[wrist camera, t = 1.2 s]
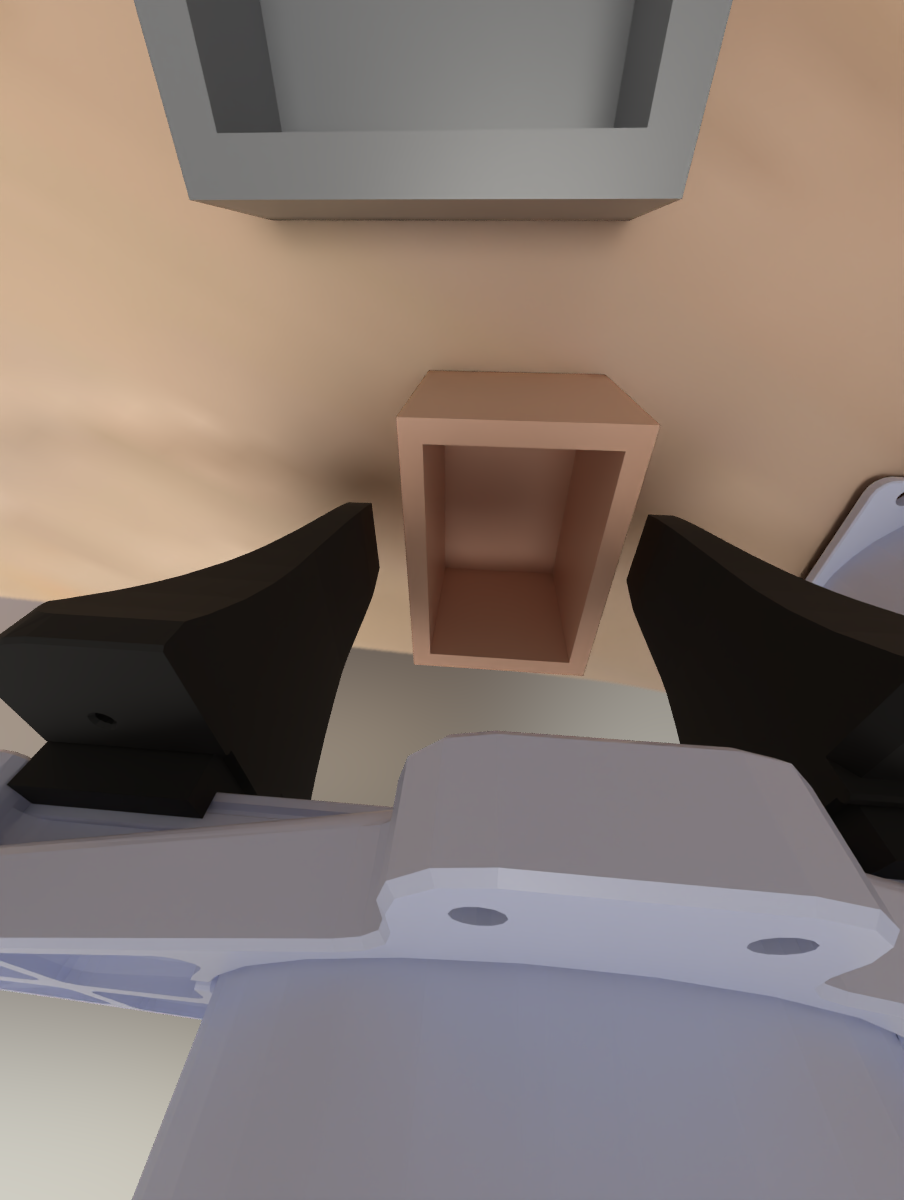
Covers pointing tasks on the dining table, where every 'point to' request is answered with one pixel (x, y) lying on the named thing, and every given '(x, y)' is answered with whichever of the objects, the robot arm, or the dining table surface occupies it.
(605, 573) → the small crate
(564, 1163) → the robot arm
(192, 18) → the large crate
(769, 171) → the dining table surface
